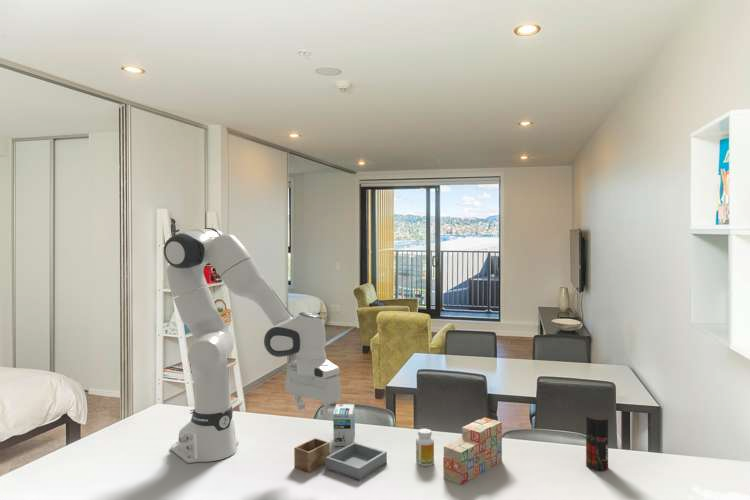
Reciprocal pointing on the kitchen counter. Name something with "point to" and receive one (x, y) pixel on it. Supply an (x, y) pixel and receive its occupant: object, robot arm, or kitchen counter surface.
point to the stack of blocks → (473, 451)
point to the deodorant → (597, 442)
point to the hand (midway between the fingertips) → (312, 412)
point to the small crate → (311, 455)
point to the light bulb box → (344, 424)
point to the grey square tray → (356, 461)
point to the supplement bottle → (424, 448)
